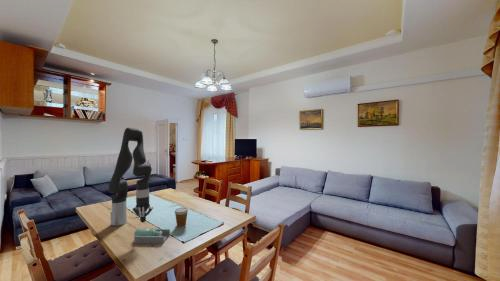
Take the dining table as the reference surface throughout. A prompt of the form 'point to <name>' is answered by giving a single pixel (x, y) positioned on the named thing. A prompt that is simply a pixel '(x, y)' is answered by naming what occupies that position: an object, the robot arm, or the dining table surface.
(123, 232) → the dining table surface
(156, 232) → the bottle
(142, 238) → the u rest
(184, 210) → the disposable coffee cup
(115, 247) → the dining table surface
